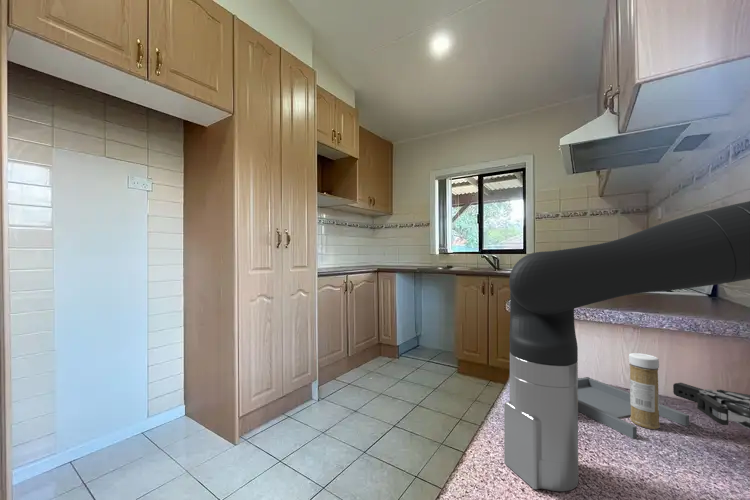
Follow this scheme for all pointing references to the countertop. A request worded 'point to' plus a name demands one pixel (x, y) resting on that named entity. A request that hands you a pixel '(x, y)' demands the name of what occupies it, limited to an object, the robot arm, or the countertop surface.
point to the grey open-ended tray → (615, 406)
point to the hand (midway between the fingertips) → (675, 388)
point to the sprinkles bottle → (644, 390)
